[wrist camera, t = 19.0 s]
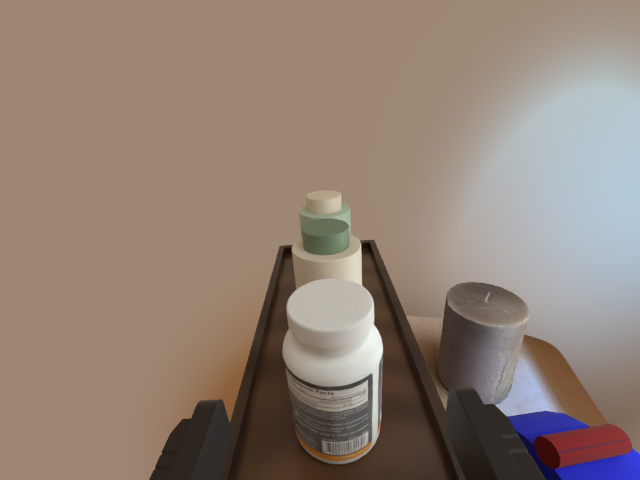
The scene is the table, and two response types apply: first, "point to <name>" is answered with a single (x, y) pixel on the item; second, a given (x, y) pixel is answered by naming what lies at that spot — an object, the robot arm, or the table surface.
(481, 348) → the pillar candle
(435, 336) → the table surface
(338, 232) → the middle bottle
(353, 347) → the pill bottle
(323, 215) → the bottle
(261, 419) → the stand
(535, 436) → the blue curved housing
